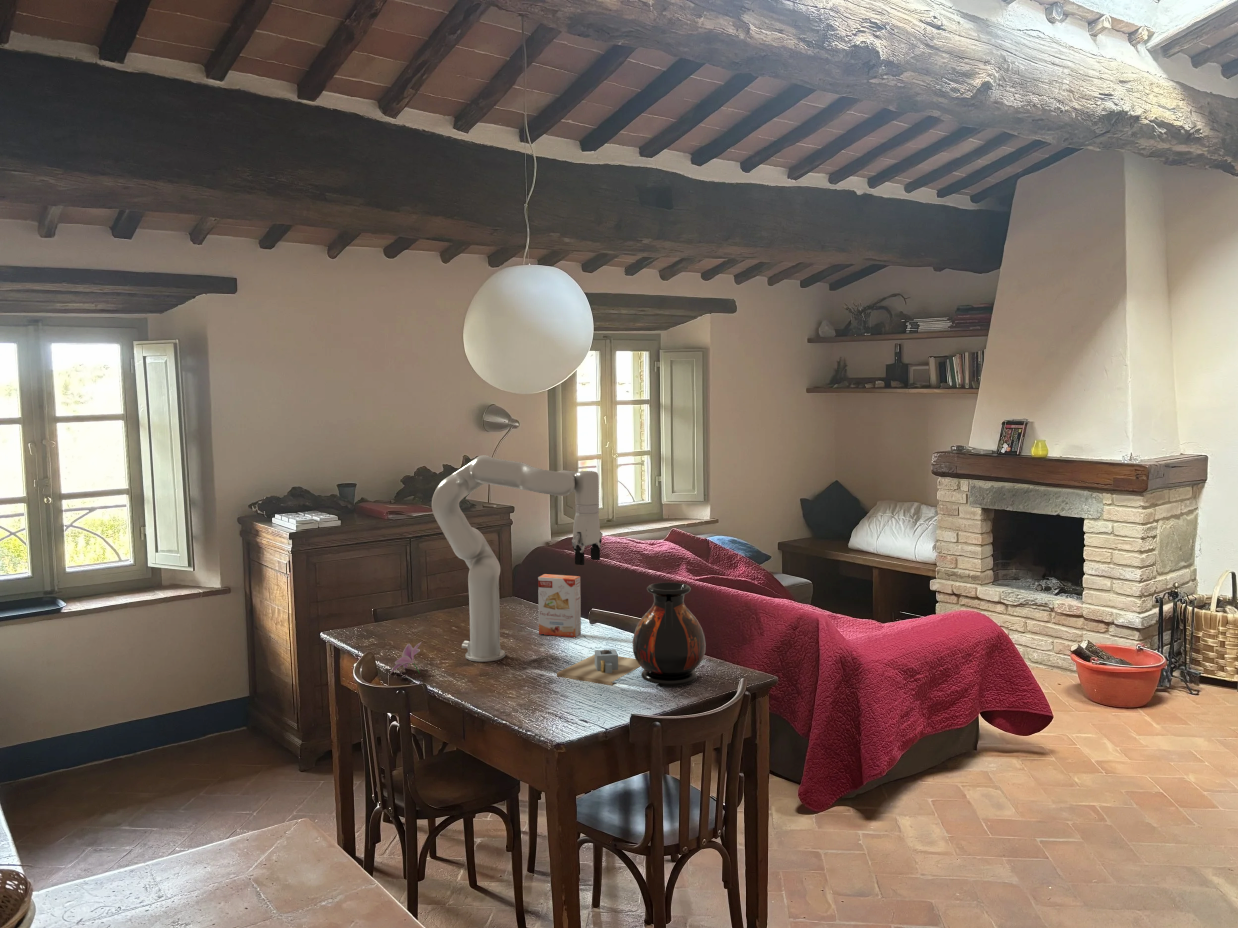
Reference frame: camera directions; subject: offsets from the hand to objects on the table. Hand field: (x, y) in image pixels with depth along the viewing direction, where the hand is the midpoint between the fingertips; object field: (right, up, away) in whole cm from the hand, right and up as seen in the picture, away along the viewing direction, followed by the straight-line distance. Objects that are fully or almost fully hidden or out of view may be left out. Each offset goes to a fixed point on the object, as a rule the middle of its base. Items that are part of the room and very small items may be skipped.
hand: (587, 562), depth 299 cm
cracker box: (-11, -29, +28) cm, 41 cm away
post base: (+6, -32, -16) cm, 36 cm away
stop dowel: (+5, -31, -21) cm, 38 cm away
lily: (-54, -32, -16) cm, 65 cm away
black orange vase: (+25, -32, -25) cm, 48 cm away
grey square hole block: (+6, -30, -18) cm, 36 cm away
